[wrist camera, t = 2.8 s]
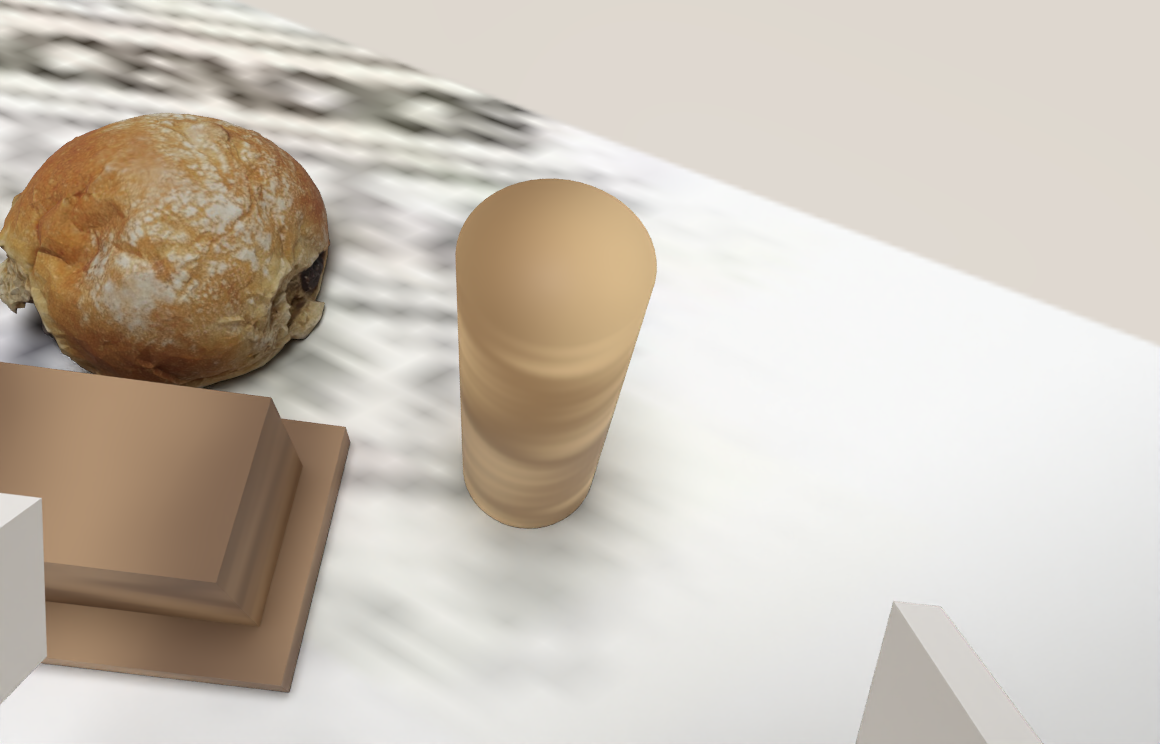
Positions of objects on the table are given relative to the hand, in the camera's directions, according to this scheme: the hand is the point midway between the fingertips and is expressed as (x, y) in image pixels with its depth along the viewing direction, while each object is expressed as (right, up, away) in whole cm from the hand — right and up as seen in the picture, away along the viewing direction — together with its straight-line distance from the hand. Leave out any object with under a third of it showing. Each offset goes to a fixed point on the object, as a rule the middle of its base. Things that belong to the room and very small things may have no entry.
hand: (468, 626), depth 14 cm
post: (0, +1, +16) cm, 16 cm away
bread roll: (-13, +7, +19) cm, 24 cm away
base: (-14, -1, +14) cm, 20 cm away
